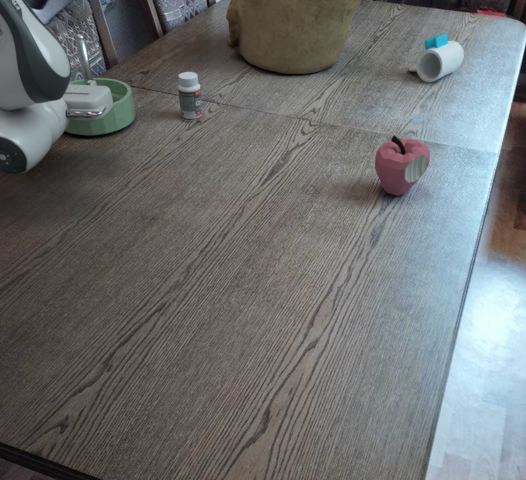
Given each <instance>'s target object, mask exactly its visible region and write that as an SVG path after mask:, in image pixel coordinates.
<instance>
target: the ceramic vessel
mask: <svg viewBox="0 0 526 480" xmlns="http://www.w3.org/2000/svg"><path fill="white" fill-rule="evenodd" d="M362 1H363V0H230V2H229V5H228V7H227V10H226V15H225V19H226V21H227V23H228V33H229V34H228V37H227V39H226V44H227V47H228V48H229V49H235V48H236V51H237V52H238V53H239V54H240V55H241V56H242V57H243V59H244V60H245V61H246V62H247V63H249V64H250V65H253V66H255V67H257V68H259V69H263V70H267V71H272V72H275V73H280V74H286V75H287V74H288V75H290V74H291V75H292V74H293V75H295V74H296V75H301V74H302V75H305V74H312V73H313V74H314V73H318V72H322V71H325V70H327V69H329V68H331V67H333V66H334V65H335V64H336V63H337V62H338V60H339V58H340V57H341V55H342V52H343V50H344V47H345V44H346V42H347V39H348V37H349V34H350V31H351V25H352V22H353V18H354V16H355V14H356V12H357V10H358V8H359V7H360V4H361V3H362Z"/></svg>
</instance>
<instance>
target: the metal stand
mask: <svg viewBox="0 0 526 480" xmlns="http://www.w3.org/2000/svg"><path fill="white" fill-rule="evenodd" d="M74 41H75V45H76V50H77V54H78V59H79V64H80V68H81V73H82V78H83V79H84V82H85V83H86V82H87V81H88V80H93V78H94V76H93V73H92V67H91V63H90V58H89V53H88V49H87V44H86V43H87V42H86V39H85V36H84V35H83V34H82V33H76V34H75V36H74ZM85 85H86V84H85Z"/></svg>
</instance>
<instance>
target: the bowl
mask: <svg viewBox="0 0 526 480" xmlns="http://www.w3.org/2000/svg"><path fill="white" fill-rule="evenodd" d="M93 80H95V81H96V83H97V86H107V87H108V88H109V89H110V90H111V94H112V99H113V107H112V109H111V110H110V111H109V112H108V113H107V114H106V115H104V116H103V117H102V118H100V119H98V120H93V121H86V120H70V122H69V125H68V127H67V129H66V130H65V131H64V132H66V133H69V134H73V135H79V136H101V135H107V134H111V133H114V132H117V131H119V130H121V129H123V128H126V127H128V126H129V125H130V124H131V123H132V122H134V120H135V118H136V109H135V103H134V98H133V97H134V96H133V91H132V87H131V86H130V85H129V84H127V82H124V81H121V80H118V79H114V78H107V77H93ZM69 84H72V85H85V82H84V78H81V79H78V80H77V79H76V80H73V81H70V82H69Z"/></svg>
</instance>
